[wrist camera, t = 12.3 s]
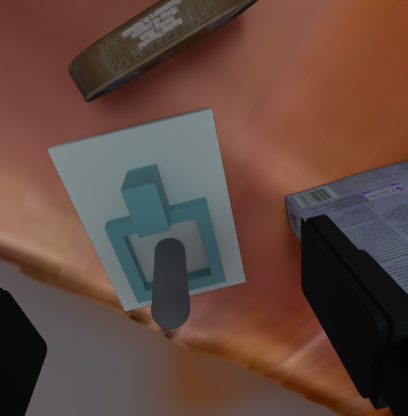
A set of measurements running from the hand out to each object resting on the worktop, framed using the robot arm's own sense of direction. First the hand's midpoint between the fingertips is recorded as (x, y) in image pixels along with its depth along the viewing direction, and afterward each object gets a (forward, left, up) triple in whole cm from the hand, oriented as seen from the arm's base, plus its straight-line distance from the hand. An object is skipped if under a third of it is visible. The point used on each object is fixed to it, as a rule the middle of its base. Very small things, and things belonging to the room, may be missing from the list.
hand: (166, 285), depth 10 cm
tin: (-8, +2, -23) cm, 24 cm away
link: (+11, -3, -22) cm, 24 cm away
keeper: (+10, -3, -23) cm, 25 cm away
